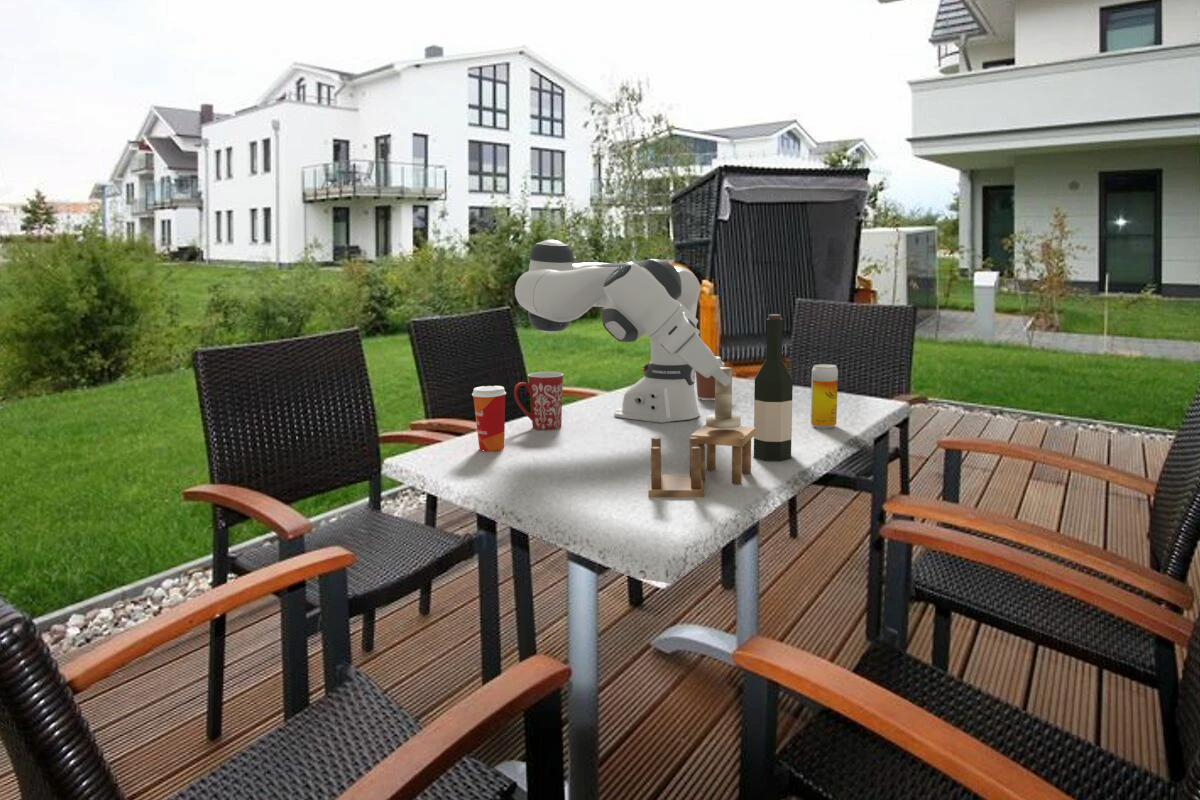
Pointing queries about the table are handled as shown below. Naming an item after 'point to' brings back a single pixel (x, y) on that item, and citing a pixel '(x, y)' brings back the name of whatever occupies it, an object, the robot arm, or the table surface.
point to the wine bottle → (773, 400)
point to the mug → (543, 399)
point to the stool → (727, 437)
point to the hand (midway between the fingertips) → (727, 381)
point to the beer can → (824, 395)
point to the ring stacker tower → (723, 405)
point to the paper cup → (490, 416)
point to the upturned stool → (676, 483)
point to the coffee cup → (706, 384)
